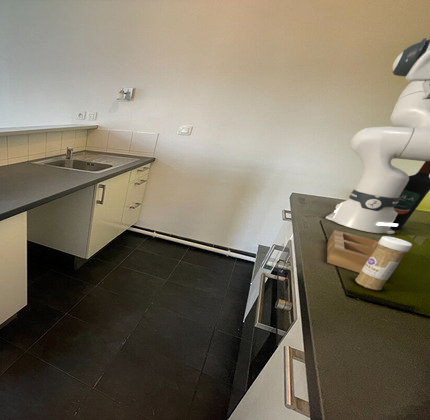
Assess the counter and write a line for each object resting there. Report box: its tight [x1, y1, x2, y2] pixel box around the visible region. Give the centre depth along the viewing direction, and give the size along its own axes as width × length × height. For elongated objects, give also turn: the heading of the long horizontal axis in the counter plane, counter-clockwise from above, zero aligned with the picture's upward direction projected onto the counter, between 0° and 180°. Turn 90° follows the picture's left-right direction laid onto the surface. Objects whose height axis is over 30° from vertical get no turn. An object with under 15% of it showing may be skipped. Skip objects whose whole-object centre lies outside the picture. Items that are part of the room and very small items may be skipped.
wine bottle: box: [390, 161, 430, 230], centre depth 97 cm, size 8×8×30 cm
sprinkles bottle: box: [354, 235, 413, 291], centre depth 61 cm, size 5×5×14 cm
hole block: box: [326, 229, 380, 274], centre depth 75 cm, size 20×11×5 cm, turn 133°
